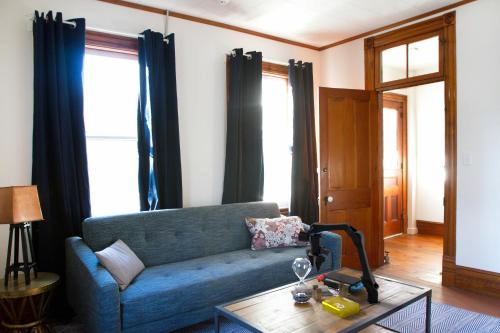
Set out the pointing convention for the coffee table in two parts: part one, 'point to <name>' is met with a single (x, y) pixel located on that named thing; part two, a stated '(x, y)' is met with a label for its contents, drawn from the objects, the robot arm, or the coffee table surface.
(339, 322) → the coffee table surface
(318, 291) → the hook posts
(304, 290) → the steel rail
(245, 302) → the coffee table surface
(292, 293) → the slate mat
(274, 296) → the coffee table surface
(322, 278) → the game console
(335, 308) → the element tile
